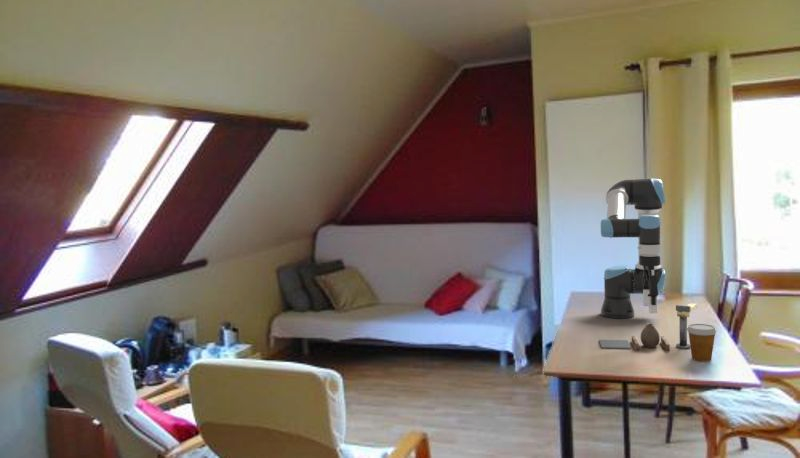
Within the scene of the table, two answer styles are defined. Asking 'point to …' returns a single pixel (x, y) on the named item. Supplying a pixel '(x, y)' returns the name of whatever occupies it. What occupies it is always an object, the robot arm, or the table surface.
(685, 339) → the post
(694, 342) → the disposable coffee cup
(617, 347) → the mat
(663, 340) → the cradle
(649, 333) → the vase
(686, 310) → the latch
